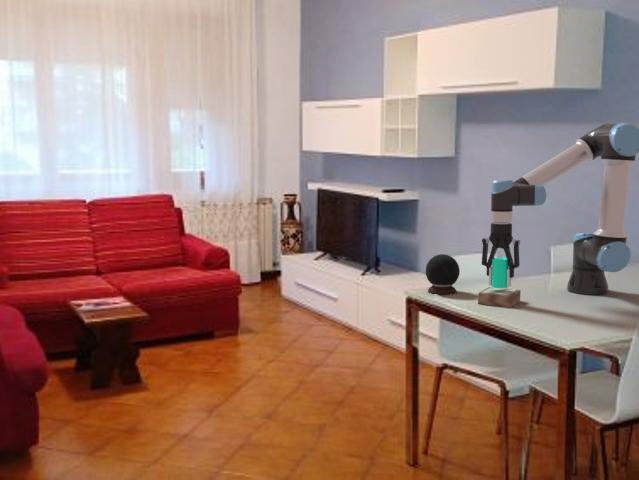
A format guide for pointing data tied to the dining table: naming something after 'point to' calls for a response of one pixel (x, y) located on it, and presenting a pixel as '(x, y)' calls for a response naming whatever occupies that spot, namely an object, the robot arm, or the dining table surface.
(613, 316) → the dining table surface
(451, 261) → the smart speaker
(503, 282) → the candle
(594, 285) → the robot arm
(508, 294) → the plinth
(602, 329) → the dining table surface
